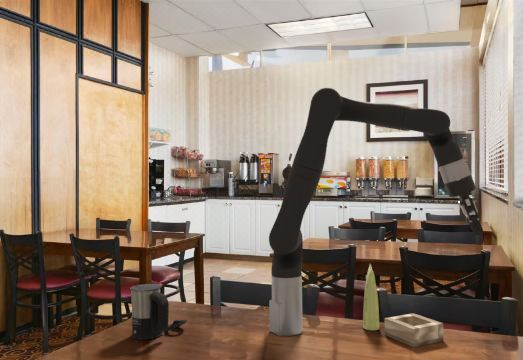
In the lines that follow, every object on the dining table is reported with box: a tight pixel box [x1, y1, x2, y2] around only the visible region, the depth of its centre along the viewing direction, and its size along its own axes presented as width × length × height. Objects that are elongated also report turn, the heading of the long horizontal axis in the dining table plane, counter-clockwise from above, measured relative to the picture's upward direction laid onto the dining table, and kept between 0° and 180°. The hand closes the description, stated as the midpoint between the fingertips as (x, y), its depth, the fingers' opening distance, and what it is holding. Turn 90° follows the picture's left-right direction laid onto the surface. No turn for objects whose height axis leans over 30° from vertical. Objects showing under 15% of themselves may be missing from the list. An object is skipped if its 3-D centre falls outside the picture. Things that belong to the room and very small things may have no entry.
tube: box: [362, 264, 380, 331], centre depth 153 cm, size 6×5×20 cm
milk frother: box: [129, 283, 188, 340], centre depth 153 cm, size 14×16×15 cm
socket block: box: [384, 313, 444, 348], centre depth 144 cm, size 11×12×5 cm
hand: (477, 232), depth 140 cm, fingers open, 8 cm apart
